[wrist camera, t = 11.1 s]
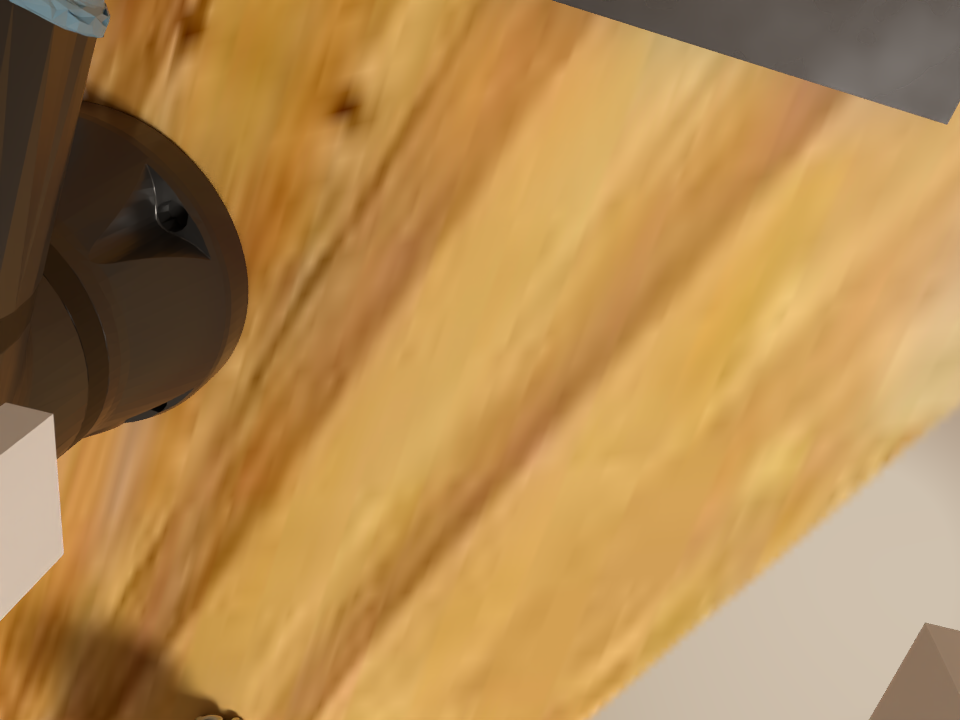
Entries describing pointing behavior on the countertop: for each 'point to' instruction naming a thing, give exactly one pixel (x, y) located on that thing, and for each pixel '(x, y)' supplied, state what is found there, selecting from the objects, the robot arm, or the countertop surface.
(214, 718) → the pneumatic valve
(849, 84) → the plate
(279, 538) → the countertop surface
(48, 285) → the robot arm
